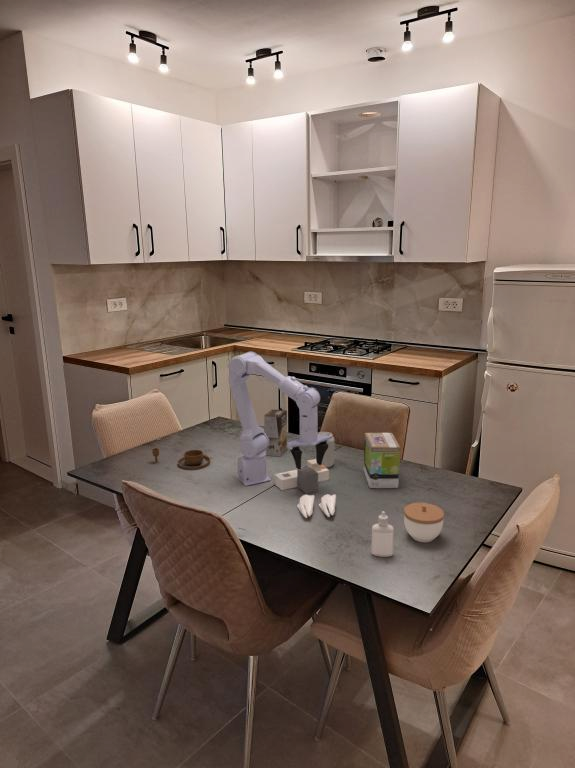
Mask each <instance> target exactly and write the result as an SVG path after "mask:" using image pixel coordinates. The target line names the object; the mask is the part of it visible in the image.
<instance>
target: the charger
mask: <svg viewBox="0 0 575 768" xmlns="http://www.w3.org/2000/svg"><path fill="white" fill-rule="evenodd" d="M296 470H297V487H296V488H298V489H299V490H300V491H301V490H302V491H301V492H302V493H304V495H309V494H314V493H317V491H318V492H319V482H318V473H317V472H316V471H315V470H313V469H312V468H310V467H307V466H306V467H301V469H298V468H296ZM308 493H309V494H308Z"/></svg>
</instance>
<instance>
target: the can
mask: <svg viewBox="0 0 575 768" xmlns="http://www.w3.org/2000/svg"><path fill="white" fill-rule="evenodd" d="M323 435H327V436H329V437H330V442H328V443H327V444H328V449H327V450H326V452H325V454H324V457H323V460H322V464H321V465H323V466H325V468H327V469H330V468H331V467H332V466H333V465H334V464H335V437H334V436H333V433H332V432H328V431H319V432H317V436H323ZM313 459H316V446H315V445H313Z"/></svg>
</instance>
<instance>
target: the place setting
mask: <svg viewBox="0 0 575 768" xmlns="http://www.w3.org/2000/svg"><path fill="white" fill-rule="evenodd" d="M151 451H152V456H153V457H154V461H155V462H154V463H155V464H159V462H158V461H159V459H158V457H159V455H160V449H159V448H158V447H157V448H156V447H155V448H152V450H151ZM212 458H213V457H211V456H209V455H207V454H204V451H202V450H199V449H189V450H186V451H185V452H184V453H183V457H181V458H180V459H178V460H177V465H178V467H180V468H181V469H183V470H188V471H193V470H195V471H196V470H200V469H204V468H206V467H208V466H209V464H210V463H211V460H213V459H212ZM203 459H205V460H203ZM183 461H184V462H185V463H186V464H188V465H189V466H185V465H182V463H184V462H183ZM203 461H206V463H205V464H202V465H200V463H202V462H203ZM181 462H182V463H181ZM168 467H169V466H166V467H165V469H167V468H168ZM168 469H169V468H168Z"/></svg>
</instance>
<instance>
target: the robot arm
mask: <svg viewBox="0 0 575 768" xmlns="http://www.w3.org/2000/svg"><path fill="white" fill-rule="evenodd" d="M227 368H228V378H227V379H228V380H227V381H228V384H229V388H230V392H231V395H232V398H233V401H234V405H235V408H236V411H237V415H238V419H239V421H240V425H241V428H242V432H241V434H240V437H239V440H240V452H241V453H242V455H243V456H241V457H238V458H237V479H238V480H240V481H239V482H241V483H242V484H243V485H244V486H246V487H247V486H252V485H256V484H261V483H266V482H269V481H271V480H272V479H271V478H270V477H269V476H268V475H267V455H266V449H267V448H268V446H269V439H268V437H267V435H266V434H265V428H263V427H261V426H260V425H259V423H258V420H257V416H256V412H255V410H254V407H253V402H252V399H251V396H250V391H249V389H248V385H247V380H248V378H249V377H250V375H253V374H256V375H257V374H260V375H261V376H262V377H265V378H266V379H268V380H269V381H271V382H273V383H274V384H276V385H277V386H278V389H279V391H280V392H282V393H283V394H284V395H286V396H287V397H288V398H290V399H292V400H293V401H294V402H295V403H296V405H297V408H298V409H299V412H298V413H299V438H297V439H296V438H295V439H294V440H291V441H287V450H289V451H290V453H291V456H292V458H293V460H294V464H295V468H296V469H301V468H302V455H303V451H302V450H301V449H300V448H302V447H308V446H313V447H314V445H315V446H316V461H317V464H319V465H321V464H322V460H323V457H324V454H325V452H326V450H327V449H328V444H327V443H328V442H330V437H329V436H327V435H323V436H317V433H318V426H319V425H318V405H319V403H320V401H321V395H320V393H319V391H318V390H317V389H316V388H315V387H308V386H307V385H306V384H305V385H304V384H303V383H301V382H300V381H298V380H297V378H296V377H295V376H290V375H288V376H285V375H283V374H282V373H281V372H279V371H278V370H277V369H276V368H274V367H273V366H271V364H269V363H268V362H267V361H266V360H264V359H263V357H262V356H261V355H259V354H257V353H256V352H254V351H247V352H245V353H242V354H239V355H235V356H233V357H232V358H231V359H230V360H229V362H228V364H227Z"/></svg>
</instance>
